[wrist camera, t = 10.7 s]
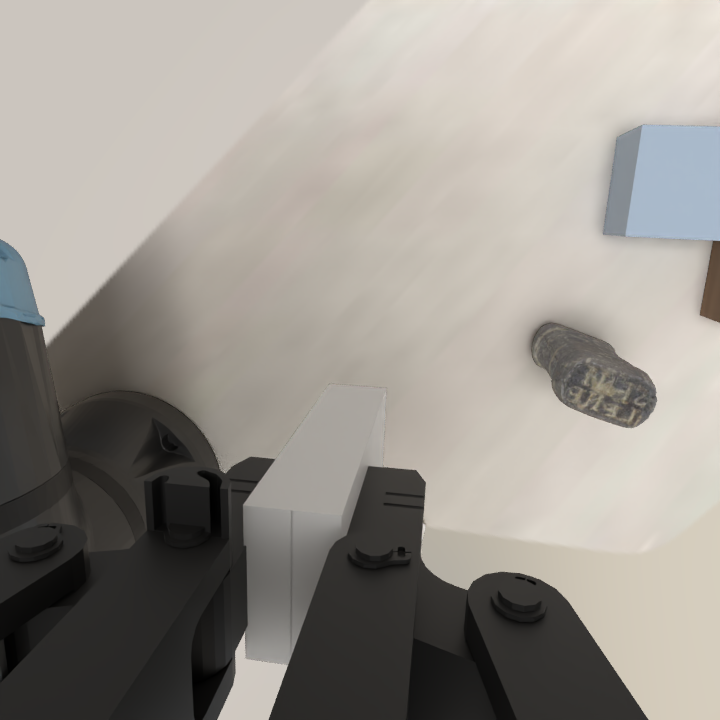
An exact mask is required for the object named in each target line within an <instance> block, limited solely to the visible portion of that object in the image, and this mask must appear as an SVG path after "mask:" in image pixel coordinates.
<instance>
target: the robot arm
mask: <svg viewBox="0 0 720 720" xmlns="http://www.w3.org/2000/svg"><path fill="white" fill-rule="evenodd" d="M42 326H45V320H44V318H43V317H42V316H40V315H39V313H38V309H37V305H36V302H35V298H34V294H33V290H32V287H31V283H30V279H29V276H28V272H27V268H26V265H25V263H24V261H23V259H22V257H21V256H20V254H19V253H18V252H17V251H16V250H15V249H14V248H13V247H12V246H10V245H9V244H8V243H6V242H4V241H3V240H1V239H0V720H217V719H218V716H219V714H220V712H221V710H222V708H223V706H224V703H225V701H226V699H227V697H228V695H229V692H230V690H231V688H232V686H233V682H234V677H235V650H236V648H237V646H238V644H239V642H240V640H241V638H242V636H243V634H244V632H245V644H246V645H245V646H246V647H245V648H246V659H251V660H257V661H265V662H272V663H278V664H286V665H288V667H287V670H286V673H285V676H284V678H283V681H282V684H281V687H280V690H279V692H278V695H277V698H276V701H275V704H274V706H273V709H272V712H271V715H270V717H269V720H648V718H647V717H646V716H645V714H644V713H643V711H642V710H641V708H640V707H639V705H638V704H637V702H636V701H635V699H634V698H633V696H632V695H631V693H630V692H629V690H628V689H627V688H626V686H625V685H624V683H623V682H622V680H621V679H620V677H619V676H618V674H617V673H616V671H615V670H614V668H613V667H612V665H611V664H610V662H609V661H608V660H607V658H606V657H605V655H604V654H603V652H602V651H601V649H600V648H599V646H598V645H597V643H596V642H595V640H594V639H593V637H592V636H591V634H590V633H589V631H588V630H587V629H586V627H585V626H584V624H583V623H582V621H581V620H580V618H579V617H578V615H577V614H576V612H575V611H574V609H573V608H572V606H571V605H570V603H569V602H568V601H567V600H566V599H565V598H564V597H563V596H562V595H561V594H560V593H559V592H558V591H557V589H555V588H553V587H552V586H550V585H548V584H546V583H545V582H543V581H541V580H539V579H536V578H534V577H531V576H527V575H524V574H520V573H508V572H498V573H492V574H486V575H484V576H482V577H480V578H478V579H477V580H475V581H473V583H472V584H471V586H470V588H469V589H468V590H465V589H462V588H459V587H456V586H454V585H452V584H449V583H447V582H445V581H443V580H441V579H440V578H438V577H437V576H435V575H434V574H433V573H432V572H430V571H429V570H428V569H427V568H426V567H425V564H424V563H423V561H422V559H421V544H422V529H423V514H424V500H425V485H426V482H425V481H424V480H423V479H422V477H421V476H420V475H419V473H418V472H417V471H416V470H406V469H395V468H385V467H383V454H384V433H385V412H386V391H387V388H381V387H368V386H354V385H341V384H329V385H328V386H327V388H326V389H325V390H324V392H323V393H322V395H321V396H320V397H319V399H318V400H317V402H316V403H315V404H314V406H313V407H312V409H311V410H310V412H309V413H308V414H307V416H306V417H305V419H304V420H303V421H302V423H301V424H300V426H299V427H298V428H297V430H296V431H295V433H294V434H293V435H292V437H291V438H290V440H289V441H288V442H287V444H286V445H285V447H284V448H283V449H282V451H281V452H280V454H279V455H278V457H277V458H276V459H268V458H258V457H249V458H247V459H245V460H244V461H242V462H240V463H238V464H236V465H234V466H232V467H231V469H230V470H229V471H228V472H227V473H226V474H225V473H223V472H222V471H220V470H219V468H218V464H217V461H216V459H215V456H214V454H213V452H212V449H211V448H210V446H209V444H208V442H207V441H206V439H205V438H204V436H203V435H202V433H201V432H200V431H199V430H198V428H197V427H196V426H195V425H194V424H193V423H192V422H191V421H190V420H189V419H188V418H187V417H186V416H185V415H183V414H182V413H181V412H180V411H178V410H177V409H175V408H174V407H172V406H170V405H169V404H167V403H165V402H163V401H161V400H159V399H157V398H154V397H151V396H148V395H145V394H141V393H136V392H128V391H113V392H106V393H101V394H98V395H95V396H92V397H90V398H88V399H86V400H83V401H82V402H80V403H78V404H76V405H74V406H72V407H70V408H68V409H66V410H65V411H63V412H62V413H61V414H60V412H59V407H58V402H57V397H56V393H55V388H54V383H53V378H52V374H51V369H50V364H49V359H48V355H47V350H46V345H45V340H44V336H43V331H42Z"/></svg>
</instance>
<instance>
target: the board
mask: <svg viewBox="0 0 720 720" xmlns="http://www.w3.org/2000/svg"><path fill="white" fill-rule="evenodd" d="M700 315H701V316H704V317H706V318H709V319H712V320H714V321H717V322H720V241H713V246H712V252H711V257H710V263H709V268H708V274H707V279H706V285H705V290H704V296H703V301H702V307H701V312H700Z"/></svg>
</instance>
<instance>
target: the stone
mask: <svg viewBox="0 0 720 720" xmlns="http://www.w3.org/2000/svg"><path fill="white" fill-rule="evenodd" d="M532 356H533V360H534V362H535V363H536V364H537V365H538V366H540V367H542V368H544V369H546V371H547V372H548V373H549V375H550V377H551V379H552V381H551V382H552V388H553V391H554V393H555V394H556V396H557V397H558V399H559V400H560V401H561V402H563V403H564V404H565V405H566V406H568V407H570V408H572V409H574V410H577V411H580V412H582V413H584V414H587V415H589V416H592V417H594V418H597V419H600V420H603V421H606V422H609V423H612V424H615V425H618V426H622V427H626V428H634V427H637V426H638V425H640V424H641V423H643V422H644V421H645V420H646V419H648V417H649V415H650V414H651V413H652V412H653V410H654V408H655V405H656V402H657V398H656V388H655V385H654V384H653V382H652V380H651V379H650V377H649V376H648V375H647V374H646V373H645V372H644V371H642V370H640V369H638V368H636V367H633V366H632V365H631V364H630V363H628V362H626V361H625V360H623V359H621V358H620V357H618V355H617V354H616V353H615V350H614V348H613V347H612V346H611V345H610V344H608V343H606V342H604V341H602V340H599V339H596V338H594V337H591V336H589V335H586V334H583V333H581V332H578V331H575V330H573V329H570V328H567V327H565V326H562V325H559V324H555V323H550V324H546V325H544V326H542V327H541V328H540V329H539V330H538V332H537V334H536V336H535V338H534V341H533V345H532Z"/></svg>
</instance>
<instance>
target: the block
mask: <svg viewBox="0 0 720 720" xmlns="http://www.w3.org/2000/svg"><path fill="white" fill-rule="evenodd" d="M603 234H605V235H616V236H628V237H649V238H670V239H692V240H713V241H720V127H717V126H672V125H641V126H639V127H637V128H635V129H633V130H631V131H629V132H627V133H625V134H623V135H621V136H619V137H617V141H616V148H615V155H614V162H613V169H612V176H611V182H610V189H609V196H608V203H607V210H606V217H605V224H604V231H603Z"/></svg>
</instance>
